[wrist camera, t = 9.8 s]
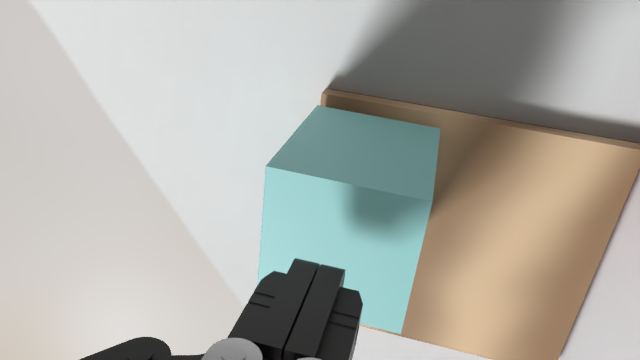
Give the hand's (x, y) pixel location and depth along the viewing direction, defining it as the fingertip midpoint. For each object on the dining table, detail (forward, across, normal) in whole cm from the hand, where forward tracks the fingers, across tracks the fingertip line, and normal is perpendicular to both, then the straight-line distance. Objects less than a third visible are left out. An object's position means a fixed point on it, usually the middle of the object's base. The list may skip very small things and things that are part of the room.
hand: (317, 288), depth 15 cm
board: (+10, -4, +3) cm, 11 cm away
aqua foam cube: (+9, 0, 0) cm, 9 cm away
